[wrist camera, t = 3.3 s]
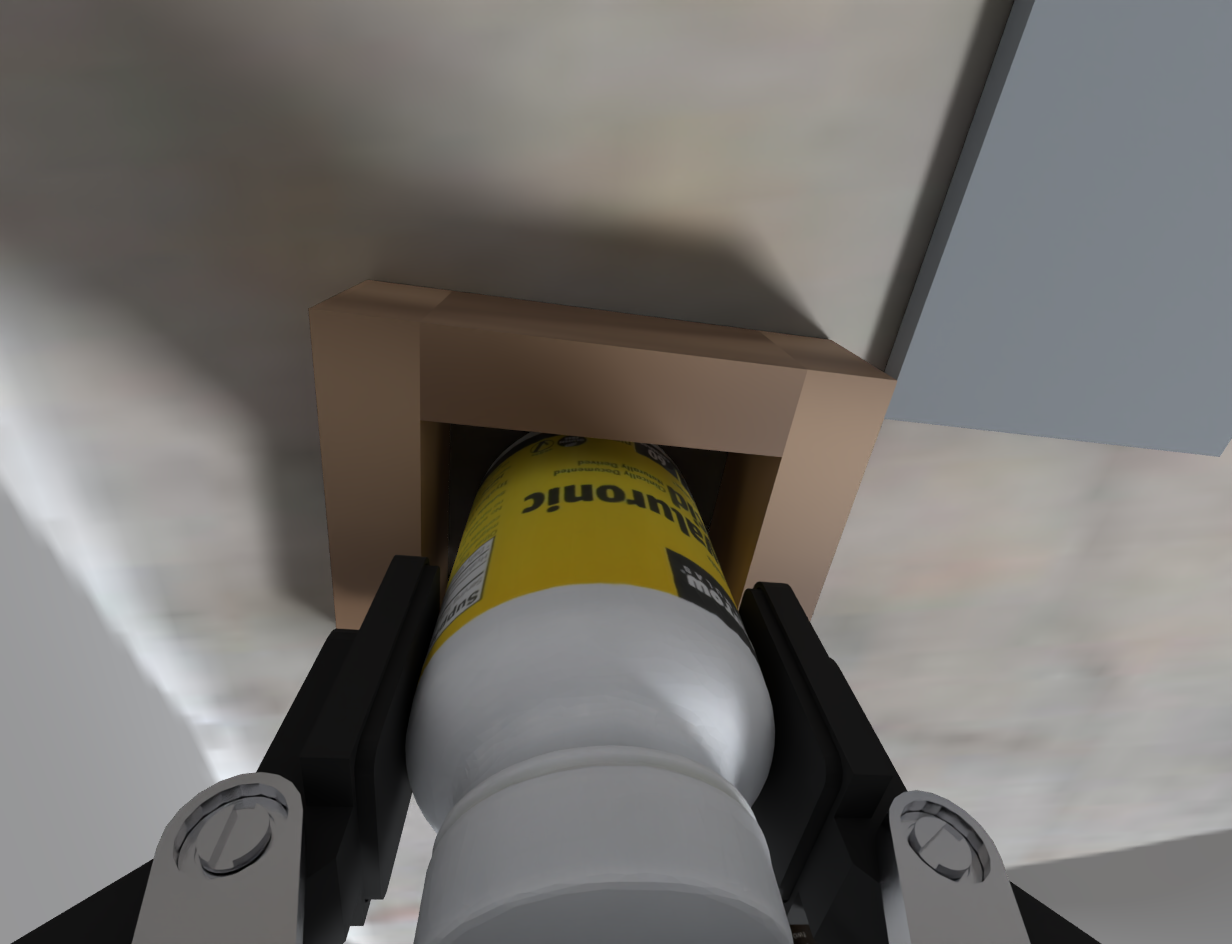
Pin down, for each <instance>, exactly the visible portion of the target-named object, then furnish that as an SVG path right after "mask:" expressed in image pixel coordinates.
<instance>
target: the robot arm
mask: <svg viewBox="0 0 1232 944" xmlns="http://www.w3.org/2000/svg"><path fill="white" fill-rule="evenodd" d="M439 612H440V567H439V566H430V563H429V558H428V557H421V556H407V555H395V556H394V557H393V559H392V561H391V563H390V565H389V567H388V569H387V571H386V574H385V576H384V578H383V580H382V582H381V584H380V586H379V589H378V591H377V593H376V595H375V597H374V599H373V601H372V603H371V606H370V608H369V610H368V612H367V614H366V616H365V618H364V621H363V623H362V625H361V627H360V629H359V630H355V629H337V628H336V629H334V630H333V631H332V632H331V633H330V635H329V636H328V638H327V640H326V641H325V643H324V645H323V647H322V649H321V651H320V653H319V655H318V657H317V658H316V660H315V662H314V664H313V666H312V668H311V670H310V672H309V674H308V675H307V677H306V679H305V681H304V683H303V685H302V687H301V689H300V691H299V692H298V694H297V696H296V698H295V700H294V702H293V704H292V706H291V708H290V709H289V711H288V713H287V715H286V717H285V719H284V721H283V723H282V725H281V726H280V728H279V730H278V732H277V734H276V736H275V738H274V740H273V742H272V743H271V745H270V747H269V749H268V751H267V753H266V755H265V757H264V759H263V760H262V762H261V764H260V766H259V768H258V770H257V772H256V773H248V774H240V775H237V776H234V777H231V778H228V779H225V780H222V781H220V782H218V783H216V784H214V785H213V786H211V787H209V788H207V789H206V790H204V791H202V792H200V793H198V794H197V795H196V796H195V797H194V798H193V799H191V800H190V801H189V802H188V803H187V804H185V805H184V806H183V807H182V808H181V809H180V810H179V811H178V812H177V813H176V815H175V816H174V817H173V819H172V820H171V821H170V822H169V824H168V825H167V826H166V828H165V830H164V832H163V834H162V836H161V839H160V841H159V843H158V846H157V848H156V852H155V856H154V859H152V860H151V861H149V862H147V863H145V864H144V865H142V866H141V867H139V868H137V869H136V870H134V871H132V872H130V873H129V874H127V875H125V876H124V877H122V878H120V879H119V880H117V881H115V882H114V883H112V884H110V885H109V886H107V887H105V888H103V889H102V890H100V891H98V892H97V893H95V894H93V895H92V896H90V897H88V898H87V899H85V900H83V901H82V902H80V903H78V904H77V905H75V906H73V907H72V908H70V909H68V910H67V911H65V912H64V913H61V914H60V915H58V916H56V917H55V918H53V919H51V920H50V921H48V922H46V923H45V924H43V925H41V926H40V927H38V928H36V929H35V930H33V931H31V932H30V933H28V934H26V935H25V936H23V937H21V938H20V939H18V940H16V941H14V942H13V943H11V944H343V943H344V942H345V941H346V938H347V934H348V931H349V928H350V926H364V923H365V919H366V915H367V912H368V908H369V905H370V901H371V899H384V897H385V894H386V892H387V888H388V885H389V881H390V877H391V873H392V869H393V865H394V861H395V857H396V853H397V850H398V846H399V842H400V838H401V834H402V830H403V826H404V822H405V818H406V815H407V811H408V807H409V803H410V799H411V795H412V789H411V786H410V782H409V778H408V773H407V767H406V753H405V743H406V732H407V727H408V721H409V716H410V711H411V707H412V702H413V698H414V694H415V691H416V687H417V684H418V680H419V677H420V674H421V671H422V666H423V664H424V661H425V658H426V655H427V652H428V648H429V645H430V641H431V638H432V635H433V632H434V628H435V625H436V622H437V619H438V615H439ZM738 612H739V614H740V616H741V619H742V622H743V625H744V628H745V630H746V633H747V635H748V638H749V640H750V641H751V643H752V645H753V648H754V651H755V653H756V656H757V659H758V662H759V665H760V668H761V672H762V675H763V678H764V681H765V684H766V687H767V690H768V692H769V696H770V700H771V703H772V707H773V714H774V723H775V746H774V753H773V759H772V763H771V767H770V770H769V774H768V777H767V779H766V781H765V784H764V786H763V788H762V790H761V792H760V794H759V796H758V798H757V799H756V801H755V802H754V804H753V805H752V807H751V809H752V811H753V813H754V816H755V818H756V821H757V823H758V825H759V827H760V828H761V830H762V832H763V834H764V837H765V840H766V843H767V846H768V849H769V853H770V859H771V864H772V868H773V871H774V875H775V878H776V882H777V885H778V888H779V892H780V895H781V899H782V902H783V905H784V909H785V912H786V916H787V919H788V922H789V924H809V926H810V929H811V932H812V935H813V939H815V940H816V941H817V942H818V943H819V944H1101V943H1099V942H1098V941H1096V940H1095V939H1094V938H1092V937H1091V936H1089V935H1088V934H1086V933H1085V932H1083V931H1082V930H1080V929H1079V928H1078V927H1076V926H1075V925H1073V924H1072V923H1070V922H1069V921H1067V920H1066V919H1064V918H1063V917H1061V916H1060V915H1058V914H1057V913H1055V912H1054V911H1053V910H1051V909H1050V908H1048V907H1047V906H1045V905H1044V904H1042V903H1041V902H1040V901H1038V900H1037V899H1035V898H1034V897H1032V896H1031V895H1029V894H1028V893H1026V892H1025V891H1023V890H1022V889H1020V888H1019V887H1018V886H1016V885H1015V884H1013V883H1012V882H1010V881H1009V879H1008V876H1007V873H1006V870H1005V867H1004V864H1003V861H1002V859H1001V856H1000V854H999V852H998V850H997V848H996V846H995V844H994V842H993V840H992V839H991V838H990V837H989V835H988V834H987V833H986V831H985V830H984V829H983V827H982V826H981V825H980V824H979V823H978V822H977V821H976V820H975V819H974V818H972V817H971V816H970V815H969V814H968V813H967V812H966V811H965V810H963V809H962V808H960V807H959V806H957V805H955V804H954V803H952V802H951V801H949V800H947V799H945V798H943V797H940V796H938V795H936V794H933V793H929V792H924V791H918V790H915V791H907V790H906V788H905V786H904V784H903V782H902V780H901V779H900V777H899V775H898V773H897V771H896V770H895V768H894V766H893V764H892V762H891V761H890V759H889V757H888V755H887V753H886V752H885V750H884V748H883V746H882V744H881V742H880V741H879V739H878V737H877V735H876V733H875V732H874V730H873V728H872V726H871V724H870V723H869V721H868V719H867V717H866V715H865V713H864V712H863V710H862V708H861V706H860V704H859V703H858V701H857V699H856V697H855V695H854V694H853V692H852V690H851V688H850V686H849V684H848V683H847V681H846V679H845V677H844V675H843V674H842V672H841V670H840V668H839V667H838V665H837V664H836V662H835V661H834V660H833V659H831V658H830V657H829V656H828V654H827V652H826V651H825V649H824V647H823V645H822V643H821V641H820V640H819V638H818V636H817V634H816V632H815V630H814V629H813V627H812V625H811V623H810V621H809V619H808V617H807V616H806V614H805V612H804V610H803V608H802V606H801V605H800V603H799V601H798V599H797V597H796V595H795V594H794V592H793V590H792V588H791V587H790V585H789V584H786V583H775V582H761V581H759V582H756V584H755V585H754V587H753V589H751V588H748V589H746V590H745V591H744V594H743V597H742V601H741V604H740V607H739V611H738Z"/></svg>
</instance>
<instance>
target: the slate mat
mask: <svg viewBox="0 0 1232 944" xmlns="http://www.w3.org/2000/svg"><path fill="white" fill-rule="evenodd" d="M884 373H886V374H888V375H889V376H891V377H892V378H894V379H896V380H897V384H896V387H895V389H894V392H893V395H892V398H891V400H890V403H889V406H888V409H887V411H886V414H885V417H884V419H890V420H899V421H908V422H917V423H926V424H934V425H943V426H952V427H961V428H970V429H979V430H988V431H996V432H1005V433H1014V434H1023V435H1032V436H1041V437H1049V438H1058V439H1067V440H1076V441H1085V442H1094V443H1102V444H1111V445H1120V446H1129V447H1138V448H1147V449H1155V450H1164V451H1173V452H1182V453H1191V454H1200V455H1208V456H1217V457H1220V455H1221V454H1222V452H1223V451H1224V449H1225V448H1226V446H1227V445H1228V443H1229V442H1230V440H1231V439H1232V0H1015V1H1014V4H1013V7H1012V10H1011V12H1010V15H1009V18H1008V21H1007V24H1006V27H1005V30H1004V32H1003V35H1002V38H1001V41H1000V44H999V47H998V50H997V52H996V55H995V58H994V61H993V64H992V67H991V69H990V72H989V75H988V78H987V81H986V84H985V87H984V89H983V92H982V95H981V98H980V101H979V104H978V107H977V109H976V112H975V115H974V118H973V121H972V124H971V126H970V129H969V132H968V135H967V138H966V141H965V144H964V146H963V149H962V152H961V155H960V158H959V161H958V164H957V166H956V169H955V172H954V175H953V178H952V181H951V183H950V186H949V189H948V192H947V195H946V198H945V201H944V203H943V206H942V209H941V212H940V215H939V218H938V221H937V223H936V226H935V229H934V232H933V235H932V238H931V240H930V243H929V246H928V249H927V252H926V255H925V258H924V260H923V263H922V266H921V269H920V272H919V275H918V278H917V280H916V283H915V286H914V289H913V292H912V295H911V297H910V300H909V303H908V306H907V309H906V312H905V315H904V317H903V320H902V323H901V326H900V329H899V332H898V335H897V337H896V340H895V343H894V346H893V349H892V352H891V354H890V357H889V360H888V363H887V366H886V369H885V372H884Z"/></svg>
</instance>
